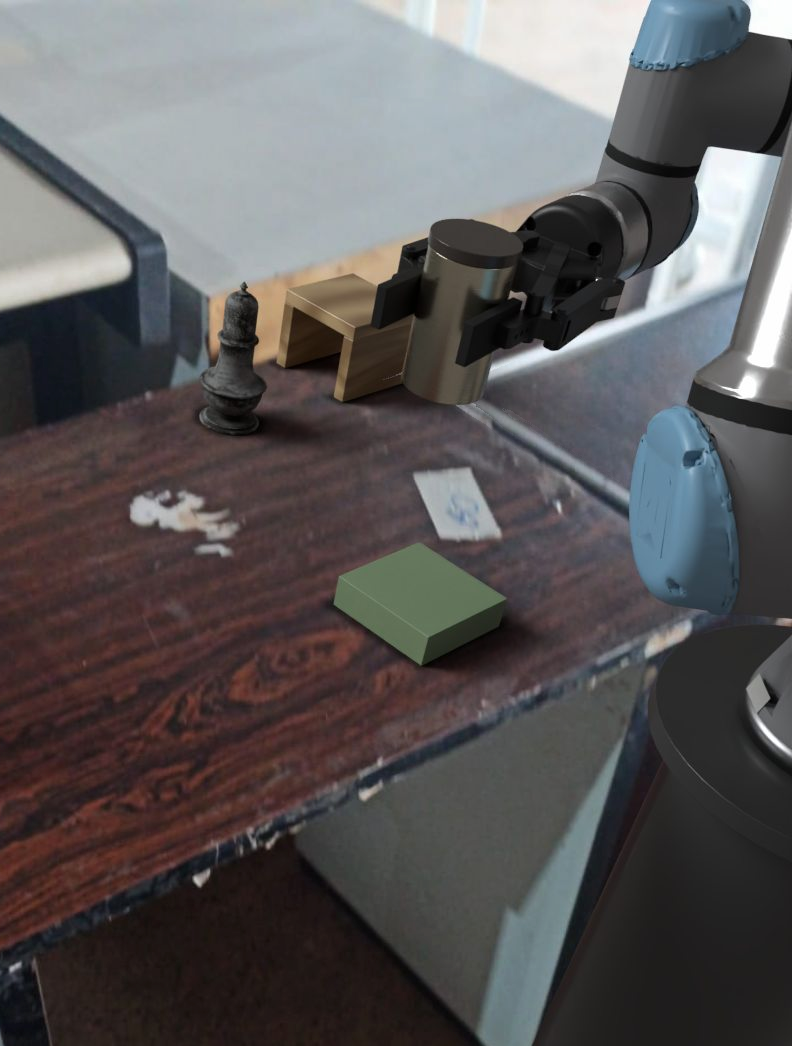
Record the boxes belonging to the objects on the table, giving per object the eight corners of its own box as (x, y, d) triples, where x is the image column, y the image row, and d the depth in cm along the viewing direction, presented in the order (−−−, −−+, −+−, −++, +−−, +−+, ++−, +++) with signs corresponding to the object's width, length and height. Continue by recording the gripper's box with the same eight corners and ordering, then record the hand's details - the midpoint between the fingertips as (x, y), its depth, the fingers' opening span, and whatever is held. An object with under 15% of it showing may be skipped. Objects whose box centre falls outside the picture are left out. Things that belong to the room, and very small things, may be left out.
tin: (502, 394, 91) (542, 247, 84) (446, 413, 88) (482, 262, 80) (438, 358, 94) (471, 212, 86) (381, 375, 90) (411, 226, 83)
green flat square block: (499, 626, 97) (507, 598, 95) (421, 666, 92) (428, 637, 90) (412, 569, 101) (419, 541, 99) (333, 604, 96) (338, 575, 94)
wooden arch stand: (406, 382, 124) (421, 309, 119) (342, 402, 119) (355, 327, 114) (340, 344, 128) (353, 272, 123) (276, 363, 123) (286, 288, 118)
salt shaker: (193, 430, 111) (206, 290, 103) (198, 400, 115) (211, 262, 107) (260, 440, 112) (278, 301, 103) (263, 410, 116) (281, 273, 107)
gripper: (672, 342, 97) (530, 436, 83) (462, 256, 104) (296, 330, 89) (709, 239, 92) (564, 321, 78) (485, 154, 98) (312, 216, 84)
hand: (421, 325), depth 83 cm, fingers closed on tin, 6 cm apart
